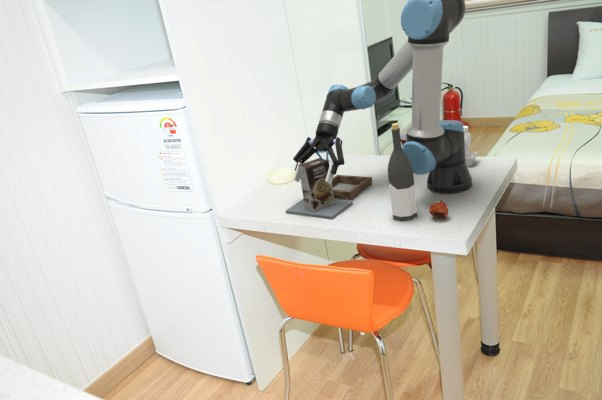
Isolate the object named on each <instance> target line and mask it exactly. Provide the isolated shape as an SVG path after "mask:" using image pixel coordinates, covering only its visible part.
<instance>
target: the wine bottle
mask: <svg viewBox="0 0 602 400" xmlns="http://www.w3.org/2000/svg"><path fill="white" fill-rule="evenodd" d="M400 135H401V129H400V125H399V123H397V122H396V123H392V124H391V136H392V145H393V149H392V152H391V154H390V156H389V160H388V163H387V176H388V186H389V195H390V204H391V205H390V206H391V211H392V219H393V220H395V221H398V222H407V221H413V220H414V219H416V218H417V217H418V208H417V199H416V197H417V196H416V190H415V189H416V188H415V187H416V186H415V178H414V173H413V170H412V166H411V163H410V161H409V159H408V157H407V155H406V154H405V152H404V151H403V149H402V148H401V147H402V143H401V138H400Z"/></svg>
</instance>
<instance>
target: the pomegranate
mask: <svg viewBox="0 0 602 400" xmlns="http://www.w3.org/2000/svg"><path fill="white" fill-rule="evenodd" d="M442 200H443V199H441V200H440V201H437V202H435V201H434V202H433V203H431V204H430V205H429V208H428V209H429V210H428V212H429V214H430V215H431V216H432V217H433V218H435V221H434V222H435V223H437V220H438V219H445V218H447V216H448V215H449V207H448V206H447V204H446V203H445V202H443V201H442Z"/></svg>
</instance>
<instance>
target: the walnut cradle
mask: <svg viewBox="0 0 602 400" xmlns="http://www.w3.org/2000/svg"><path fill="white" fill-rule="evenodd" d="M339 184H345V185H356V186H354V187H352V188H351V189H350V190H342V189H333V193H334V199H335V200H344V201H353V200H354V199H355V198H357V197H358V196H359V195H361V194H362V193H363V192H365V191H366V190H367V189H369V188H370V187H371V186H373V178H372V176H364V175H363V176H358V175H347V174H346V175H345V174H335V175H334V176H333V180H332V186H333V188H334V187H336V186H337V185H339Z"/></svg>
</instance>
